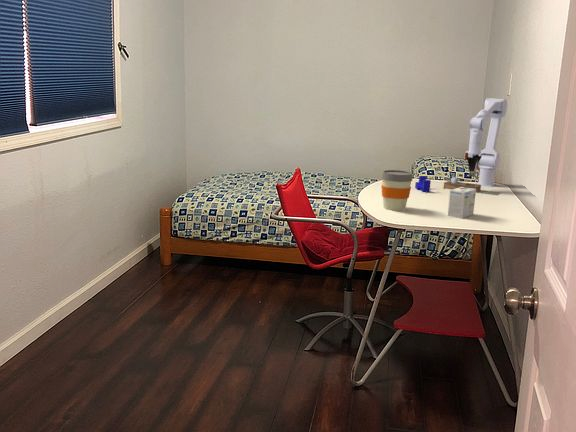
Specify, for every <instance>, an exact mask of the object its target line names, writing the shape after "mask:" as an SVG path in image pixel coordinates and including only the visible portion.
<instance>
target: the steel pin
mask: <svg viewBox="0 0 576 432" xmlns="http://www.w3.org/2000/svg"><path fill="white" fill-rule="evenodd" d="M477 161H478V160H477ZM476 168H478V166H477V163H476V166H475V170H474V172H473V171H469V173H468V176H469V177H473V178H475V177H476V174H477V169H476Z"/></svg>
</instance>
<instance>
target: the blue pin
mask: <svg viewBox="0 0 576 432" xmlns="http://www.w3.org/2000/svg"><path fill="white" fill-rule="evenodd" d="M450 181H451V183H454V184H458V182H459V177H455V176H453V177H451V180H450Z"/></svg>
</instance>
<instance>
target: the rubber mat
mask: <svg viewBox="0 0 576 432" xmlns="http://www.w3.org/2000/svg"><path fill="white" fill-rule="evenodd" d="M480 194H483V195H491V196H499V195H500V194H502V192H496V191H490V190H489V191H488V190H483V191H482V192H480Z"/></svg>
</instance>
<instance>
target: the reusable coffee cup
mask: <svg viewBox="0 0 576 432" xmlns="http://www.w3.org/2000/svg"><path fill="white" fill-rule="evenodd" d="M381 181H382V183H381V196H382V199H383V200H382V202H383V205H382V206H383V209H385V210H389V211H395V212H398V211H399V212H400V211H405V210H406V207H407V203H408V202H407V201H408V199H409V198H410V194H411V190H412V187H411V185H412V181H413V173H412V172H411V171H406V170H400V169H387V170H383V171H382V173H381Z"/></svg>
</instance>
